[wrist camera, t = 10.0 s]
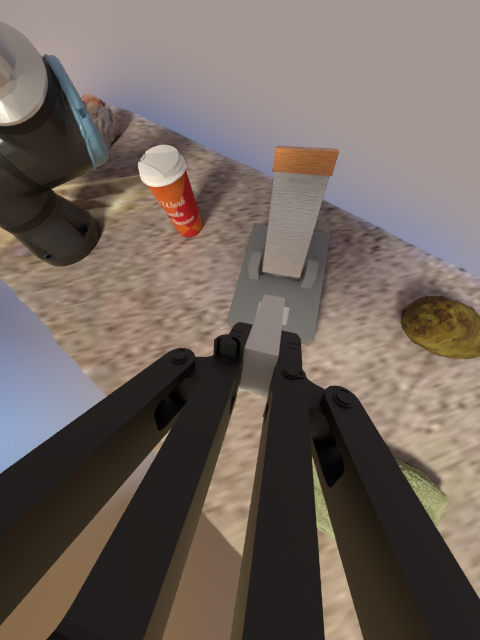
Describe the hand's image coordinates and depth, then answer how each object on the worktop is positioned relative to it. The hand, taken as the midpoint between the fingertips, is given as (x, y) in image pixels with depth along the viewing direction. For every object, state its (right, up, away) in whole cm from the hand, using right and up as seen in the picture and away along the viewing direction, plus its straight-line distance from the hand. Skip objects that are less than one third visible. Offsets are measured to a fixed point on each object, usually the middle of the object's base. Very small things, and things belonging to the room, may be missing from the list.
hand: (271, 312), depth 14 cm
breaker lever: (+5, +7, +18) cm, 20 cm away
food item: (-42, +49, +41) cm, 76 cm away
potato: (+28, -3, +17) cm, 33 cm away
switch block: (+5, +6, +22) cm, 24 cm away
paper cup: (-13, +20, +29) cm, 38 cm away
